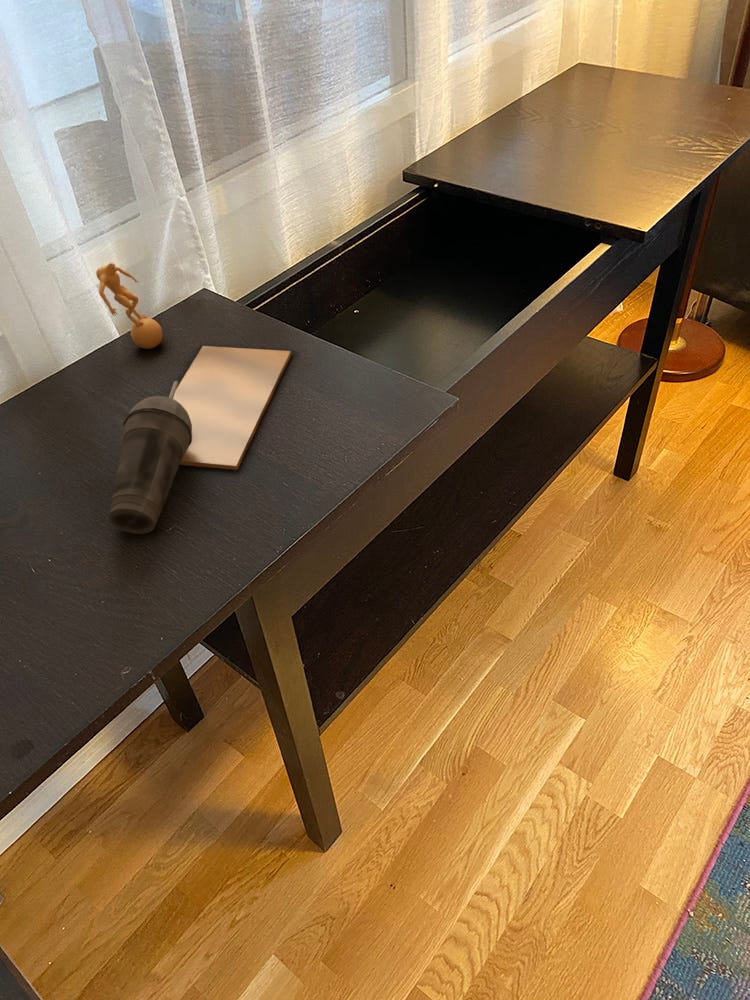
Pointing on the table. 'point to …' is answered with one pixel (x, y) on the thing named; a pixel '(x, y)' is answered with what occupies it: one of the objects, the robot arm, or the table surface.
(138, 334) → the figurine
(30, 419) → the table surface
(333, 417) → the table surface
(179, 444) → the beverage cup
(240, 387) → the tan rectangular board
